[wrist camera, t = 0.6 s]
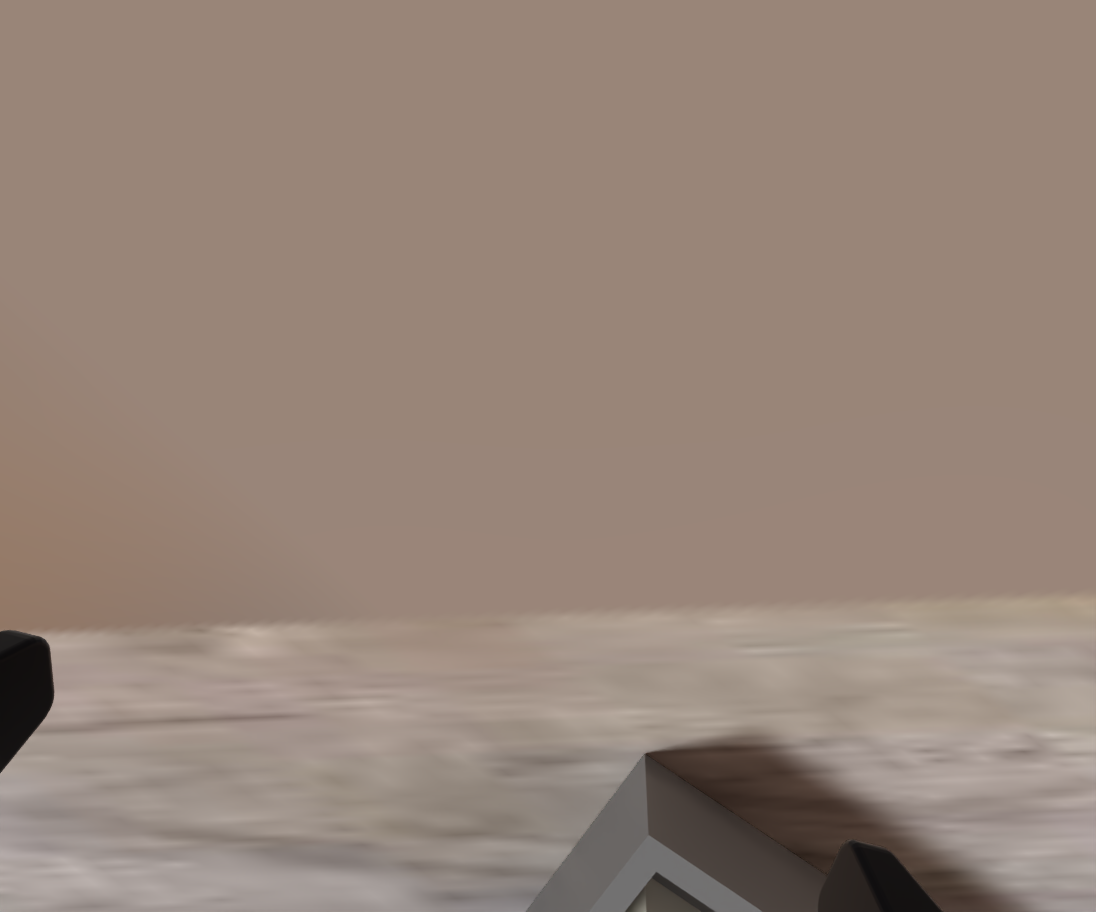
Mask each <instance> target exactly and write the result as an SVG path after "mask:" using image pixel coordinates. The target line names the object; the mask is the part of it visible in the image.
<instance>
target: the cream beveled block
mask: <svg viewBox="0 0 1096 912" xmlns="http://www.w3.org/2000/svg"><path fill="white" fill-rule="evenodd" d="M625 912H701V911H700V910H698V909H697V908H695V907H694V906H692V905H691V904H689V903H688V902H686V901H685V900H684V899H682V898H681V897H679V896H678V895H676V894H675V893H673V892H672V891H670V890H669V889H667V888H666V887H664V886H663V885H661V884H660V883H658V882H657V881H655V880H654V879H652V878H651V879H650V880H649V882H648V883H647V884H646V885H645V887H644V888H643V889H642V891H641V892H640V893H639V894H638V896H637V897H636V898H635V899H634V901H633V902H632V903H631V905H630V906H629V907H628V908H627V910H626V911H625Z"/></svg>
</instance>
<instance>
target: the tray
mask: <svg viewBox="0 0 1096 912" xmlns="http://www.w3.org/2000/svg"><path fill="white" fill-rule="evenodd" d="M826 877H827V876H826V875H825V874H823V873H822V872H821V871H819V870H818V869H816V868H815V867H813V866H812V865H810V864H809V863H807V862H806V861H804V860H803V859H801V858H800V857H798V856H797V855H795V854H794V853H792V852H791V851H789V850H788V849H786V848H785V847H783V846H782V845H780V844H779V843H777V842H776V841H774V840H773V839H771V838H770V837H768V836H767V835H765V834H764V833H762V832H761V831H759V830H758V829H756V828H755V827H753V826H752V825H750V824H749V823H747V822H746V821H744V820H743V819H741V818H740V817H738V816H737V815H735V814H734V813H732V812H731V811H729V810H728V809H726V808H725V807H723V806H722V805H720V804H719V803H717V802H716V801H714V800H713V799H711V798H710V797H708V796H707V795H705V794H704V793H702V792H701V791H699V790H698V789H696V788H695V787H693V786H692V785H690V784H689V783H687V782H686V781H684V780H683V779H681V778H680V777H678V776H677V775H675V774H674V773H672V772H671V771H670V770H668V769H667V768H665V767H664V766H662V765H661V764H659V763H658V762H656V761H655V760H653V759H652V758H650V757H649V756H647V755H646V754H644V755H643V757H642V758H641V759H640V761H639V762H638V763H637V765H636V766H635V767H634V769H633V770H632V771H631V773H630V774H629V775H628V777H627V778H626V779H625V781H624V782H623V783H622V785H621V786H620V787H619V789H618V790H617V791H616V793H615V794H614V795H613V797H612V798H611V799H610V801H609V802H608V803H607V805H606V806H605V807H604V809H603V810H602V811H601V813H600V814H599V815H598V817H597V818H596V819H595V821H594V822H593V823H592V825H591V826H590V827H589V829H588V830H587V831H586V833H585V834H584V835H583V837H582V838H581V839H580V841H579V842H578V843H577V845H576V846H575V847H574V849H573V850H572V851H571V853H570V854H569V855H568V857H567V858H566V859H565V861H564V862H563V863H562V865H561V866H560V867H559V868H558V870H557V871H556V872H555V874H554V875H553V876H552V878H551V879H550V880H549V882H548V883H547V884H546V886H545V887H544V888H543V890H542V891H541V892H540V894H539V895H538V896H537V898H536V899H535V900H534V902H533V903H532V904H531V906H530V907H529V908H528V910H527V911H526V912H625V911H626V910H627V908H628V907H629V906H630V905H631V903H632V902H633V901H634V899H635V898H636V897H637V896H638V894H639V893H640V892H641V891H642V889H643V888H644V887H645V885H646V884H647V883H648V882H649V880H650V879H651V878H652V879H654V880H655V881H657V882H658V883H660V884H661V885H663V886H664V887H666V888H667V889H669V890H670V891H672V892H673V893H675V894H676V895H678V896H679V897H681V898H682V899H684V900H685V901H686V902H688V903H689V904H691V905H692V906H694V907H695V908H697V909H698V910H700V911H701V912H818V898H819V894H820V891H821V888H822V886H823V884H824V881H825V879H826Z"/></svg>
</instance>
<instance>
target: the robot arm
mask: <svg viewBox="0 0 1096 912" xmlns="http://www.w3.org/2000/svg"><path fill="white" fill-rule="evenodd" d="M53 700H54V683H53V673H52V663H51V653H50V647H49V644H48V643H47V641H46V640H45V639H43V638H42V637H39V636H35V635H31V634H27V633H23V632H19V631H13V630H6V631H1V632H0V773H1V772H2V770H3V769H4V768H5V767H6V766H7V764H8V763H9V762H10V761H11V759H12V758H13V757H14V756H15V754H16V753H17V752H18V751H19V750H20V748H21V747H22V746H23V745H24V743H25V742H26V741H27V740H28V738H29V737H30V736H31V735H32V734H33V732H34V731H35V730H36V729H37V727H38V726H39V725H40V724H41V722H42V721H43V720H44V719H45V717H46V716H47V714H48V712H49V710H50V708H51V706H52V703H53ZM818 912H943V911H942V910H941V909H940V907H939V906H938V905H937V904H936V903H935V902H934V900H933V899H932V898H931V897H930V896H929V895H928V893H927V892H926V891H925V890H924V889H923V888H922V886H921V885H920V884H919V883H918V882H917V881H916V880H915V878H914V877H913V876H912V875H911V874H910V873H909V871H908V870H907V869H906V868H905V867H904V866H903V864H902V863H901V862H900V861H899V860H898V859H897V857H896V856H895V855H894V854H893V853H892V852H891V851H889V850H888V849H886V848H884V847H882V846H878V845H874V844H870V843H866V842H862V841H858V840H854V839H852V840H847V841H846V842H844V843H843V844H842V846H841V848H840V849H839V851H838V854H837V856H836V858H835V860H834V862H833V864H832V866H831V869H830V871H829V873H828V875H827V877H826V879H825V881H824V884H823V886H822V888H821V891H820V894H819V898H818Z"/></svg>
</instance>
